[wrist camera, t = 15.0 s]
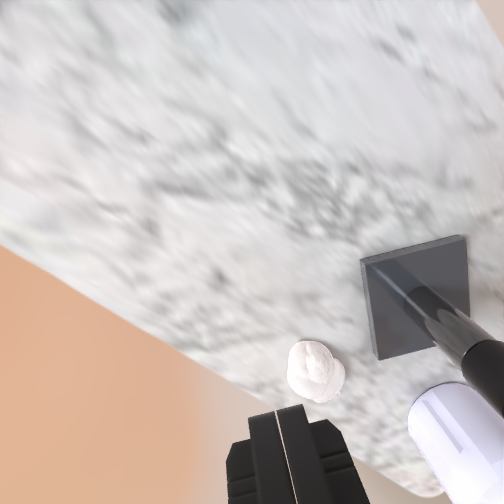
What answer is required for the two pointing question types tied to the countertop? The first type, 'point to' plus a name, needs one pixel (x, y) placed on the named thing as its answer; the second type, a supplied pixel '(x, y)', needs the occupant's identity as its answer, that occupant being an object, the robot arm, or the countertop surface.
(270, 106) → the countertop surface
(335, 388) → the dumpling
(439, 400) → the soap bottle
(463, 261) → the faucet base
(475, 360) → the spout
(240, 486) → the robot arm
